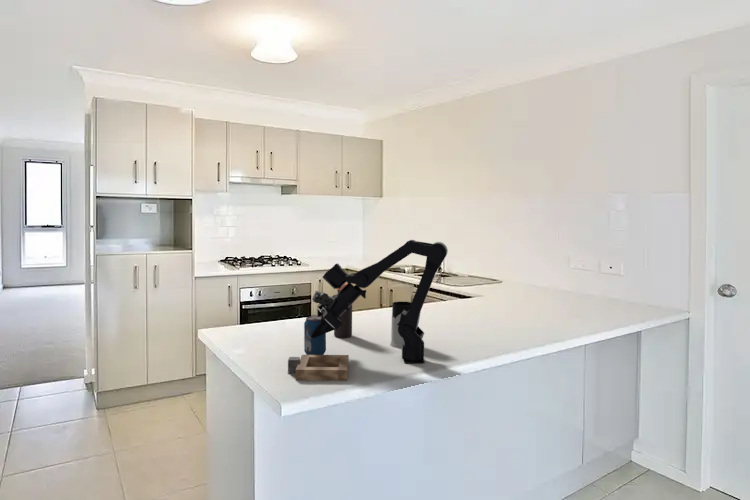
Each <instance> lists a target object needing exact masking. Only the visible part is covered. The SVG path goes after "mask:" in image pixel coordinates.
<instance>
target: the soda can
mask: <svg viewBox="0 0 750 500" xmlns="http://www.w3.org/2000/svg"><path fill="white" fill-rule="evenodd" d="M323 318H324V317H323ZM320 322H321V316H317V315H311V316H310V315H309V316H307V317H306V318H305V321H304V322H303V333H304V334H303V335H304V336H303V341H304V345H303V347H304V353H305V355H325V353H326V351H327V333H325V334H322V335H320V336H318V337H315V338H312V337H311V335H312V334H313V332H314V331H315V329H316V328H317V326H318V325H319V324H320Z"/></svg>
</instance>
